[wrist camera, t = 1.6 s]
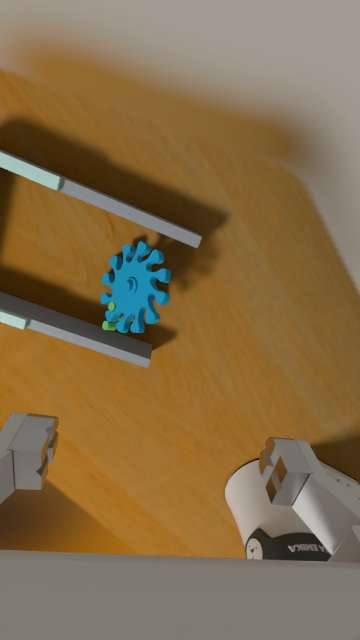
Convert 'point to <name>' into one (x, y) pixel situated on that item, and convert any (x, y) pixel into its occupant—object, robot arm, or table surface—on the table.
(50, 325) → the bay
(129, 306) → the gear
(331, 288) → the table surface
